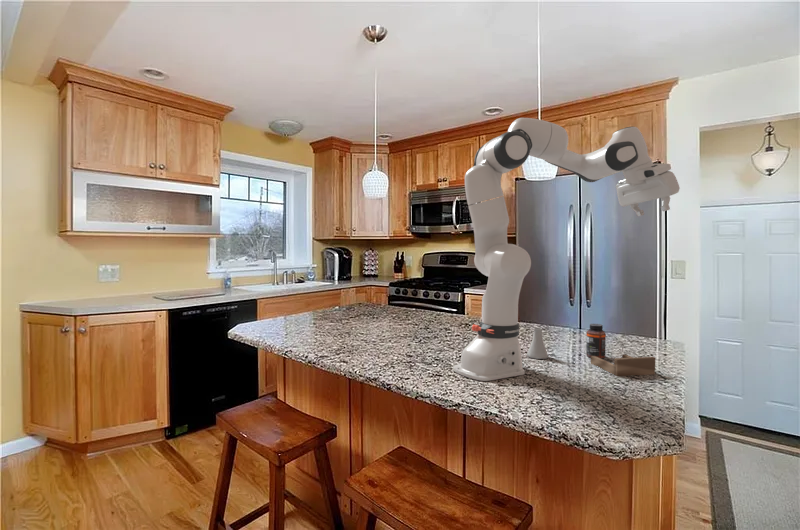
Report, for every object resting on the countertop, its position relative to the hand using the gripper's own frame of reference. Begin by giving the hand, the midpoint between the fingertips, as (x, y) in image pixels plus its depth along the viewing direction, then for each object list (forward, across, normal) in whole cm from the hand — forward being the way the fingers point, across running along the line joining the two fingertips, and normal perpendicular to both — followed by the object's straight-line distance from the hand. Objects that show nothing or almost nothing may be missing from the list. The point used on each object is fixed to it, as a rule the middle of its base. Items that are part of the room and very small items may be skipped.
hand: (653, 213), depth 133 cm
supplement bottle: (+40, -11, -33) cm, 53 cm away
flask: (+33, -18, -50) cm, 62 cm away
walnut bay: (+40, +1, -35) cm, 53 cm away
